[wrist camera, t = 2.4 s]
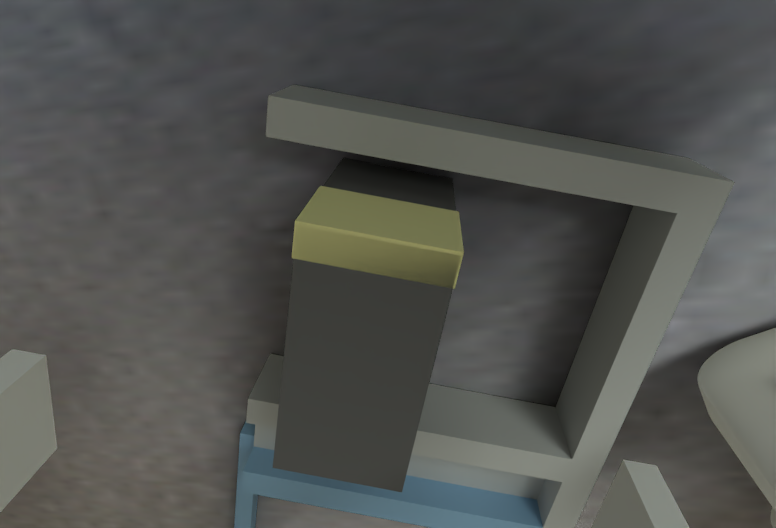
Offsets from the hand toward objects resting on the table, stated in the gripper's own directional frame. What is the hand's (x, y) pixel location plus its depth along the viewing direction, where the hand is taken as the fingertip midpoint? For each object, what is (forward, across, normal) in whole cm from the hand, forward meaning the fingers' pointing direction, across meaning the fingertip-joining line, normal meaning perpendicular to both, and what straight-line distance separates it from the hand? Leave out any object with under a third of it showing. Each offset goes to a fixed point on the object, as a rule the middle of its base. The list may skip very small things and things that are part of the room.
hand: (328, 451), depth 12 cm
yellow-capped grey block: (+10, 0, 0) cm, 10 cm away
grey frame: (+10, +3, -7) cm, 12 cm away
